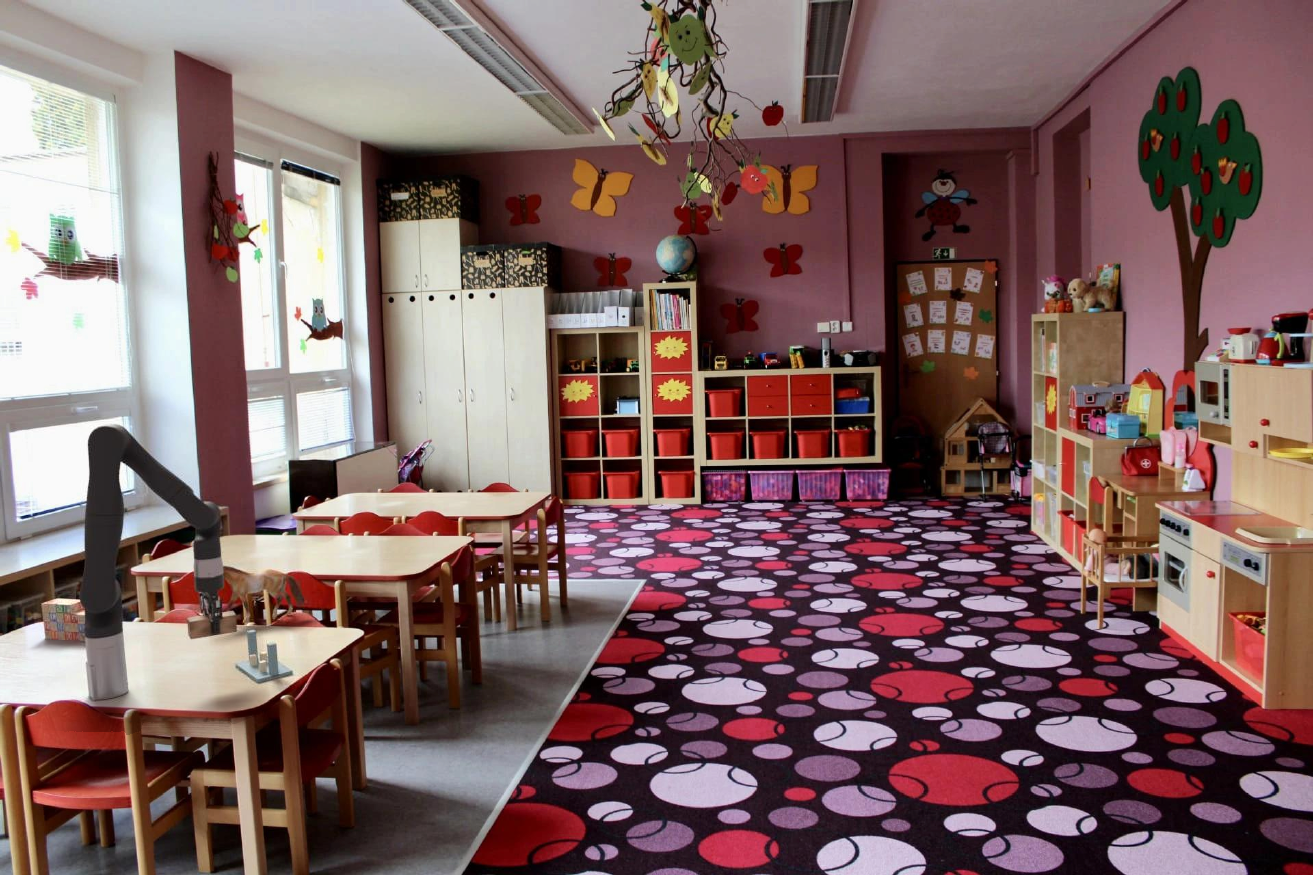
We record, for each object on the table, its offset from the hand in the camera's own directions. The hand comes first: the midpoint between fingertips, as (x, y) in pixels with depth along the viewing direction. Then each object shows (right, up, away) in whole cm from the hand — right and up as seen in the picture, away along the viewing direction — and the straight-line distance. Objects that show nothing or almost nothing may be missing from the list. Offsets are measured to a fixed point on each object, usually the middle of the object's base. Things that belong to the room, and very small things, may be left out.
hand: (212, 631), depth 277 cm
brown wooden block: (0, -1, 0) cm, 1 cm away
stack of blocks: (-68, -12, +49) cm, 84 cm away
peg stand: (+10, -13, +10) cm, 20 cm away
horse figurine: (-11, -9, +60) cm, 62 cm away
